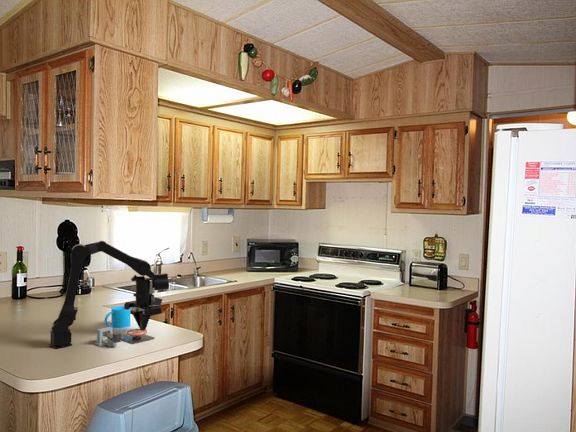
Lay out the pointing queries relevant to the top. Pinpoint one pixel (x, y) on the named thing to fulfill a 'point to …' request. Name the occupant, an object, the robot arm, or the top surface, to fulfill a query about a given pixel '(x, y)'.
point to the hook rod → (113, 336)
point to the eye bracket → (100, 340)
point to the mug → (119, 317)
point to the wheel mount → (136, 339)
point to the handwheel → (137, 331)
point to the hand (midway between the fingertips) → (142, 328)
